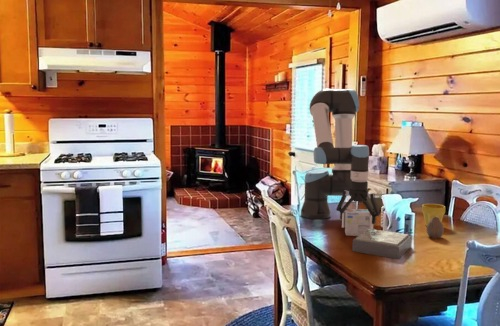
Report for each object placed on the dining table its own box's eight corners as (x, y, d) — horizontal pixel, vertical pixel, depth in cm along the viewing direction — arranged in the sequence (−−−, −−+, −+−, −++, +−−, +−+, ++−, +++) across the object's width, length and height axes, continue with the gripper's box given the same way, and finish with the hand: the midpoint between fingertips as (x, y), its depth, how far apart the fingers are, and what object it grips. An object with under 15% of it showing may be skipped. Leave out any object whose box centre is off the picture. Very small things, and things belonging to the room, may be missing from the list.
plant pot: (417, 223, 238) (418, 203, 237) (438, 223, 239) (439, 203, 238) (426, 228, 228) (428, 208, 227) (448, 228, 229) (449, 207, 227)
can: (388, 206, 276) (389, 194, 275) (386, 210, 265) (386, 198, 264) (367, 204, 280) (367, 192, 280) (363, 208, 269) (364, 196, 269)
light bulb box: (368, 232, 221) (369, 209, 219) (370, 236, 214) (371, 212, 212) (344, 231, 222) (344, 208, 220) (345, 235, 215) (346, 211, 214)
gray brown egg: (442, 236, 216) (444, 216, 215) (443, 240, 210) (444, 220, 208) (426, 234, 218) (427, 215, 217) (426, 238, 212) (427, 218, 211)
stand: (352, 251, 193) (352, 237, 192) (367, 240, 208) (367, 227, 208) (398, 259, 184) (399, 245, 183) (410, 247, 199) (411, 234, 198)
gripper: (329, 179, 218) (328, 226, 221) (384, 184, 205) (381, 234, 208) (336, 177, 224) (334, 223, 227) (389, 181, 212) (387, 230, 214)
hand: (357, 228), depth 217 cm, fingers closed on light bulb box, 12 cm apart
